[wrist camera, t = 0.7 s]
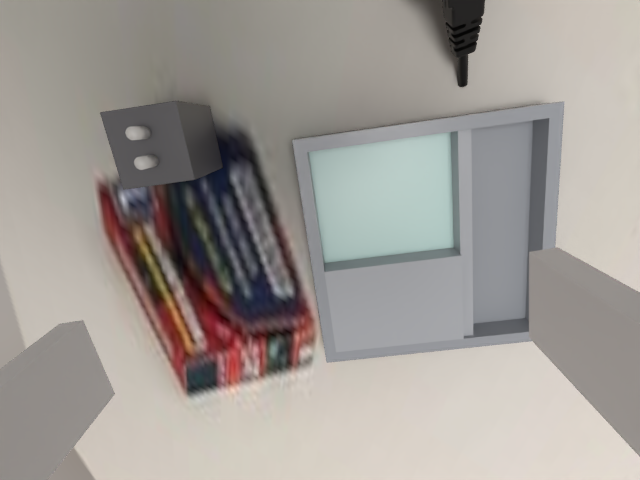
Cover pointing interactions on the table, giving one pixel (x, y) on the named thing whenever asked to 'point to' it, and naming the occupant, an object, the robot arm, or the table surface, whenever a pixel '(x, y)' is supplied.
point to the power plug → (463, 30)
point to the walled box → (429, 229)
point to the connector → (162, 143)
